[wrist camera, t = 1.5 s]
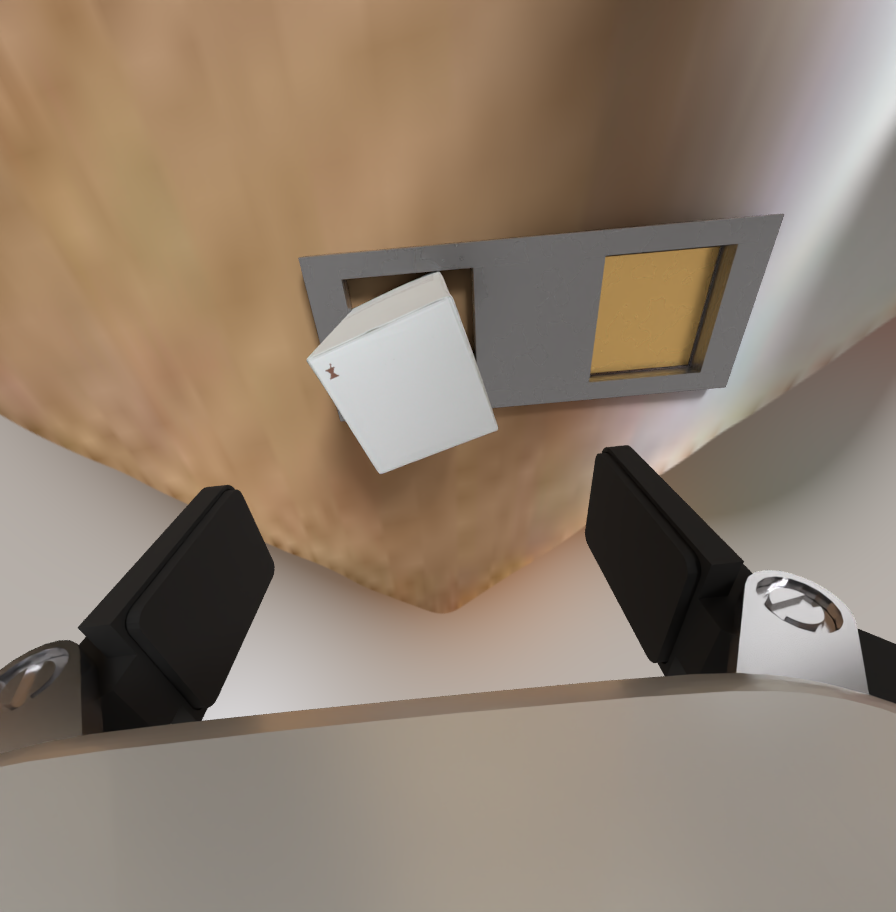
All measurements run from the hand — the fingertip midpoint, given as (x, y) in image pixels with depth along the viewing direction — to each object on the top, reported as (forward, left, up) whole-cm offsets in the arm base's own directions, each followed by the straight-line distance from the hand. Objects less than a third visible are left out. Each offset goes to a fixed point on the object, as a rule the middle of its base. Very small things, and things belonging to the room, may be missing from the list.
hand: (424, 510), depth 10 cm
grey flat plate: (0, +8, -22) cm, 23 cm away
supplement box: (0, -1, -22) cm, 22 cm away
